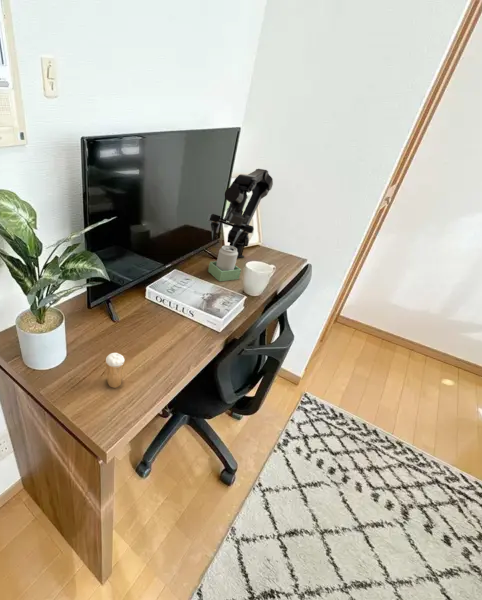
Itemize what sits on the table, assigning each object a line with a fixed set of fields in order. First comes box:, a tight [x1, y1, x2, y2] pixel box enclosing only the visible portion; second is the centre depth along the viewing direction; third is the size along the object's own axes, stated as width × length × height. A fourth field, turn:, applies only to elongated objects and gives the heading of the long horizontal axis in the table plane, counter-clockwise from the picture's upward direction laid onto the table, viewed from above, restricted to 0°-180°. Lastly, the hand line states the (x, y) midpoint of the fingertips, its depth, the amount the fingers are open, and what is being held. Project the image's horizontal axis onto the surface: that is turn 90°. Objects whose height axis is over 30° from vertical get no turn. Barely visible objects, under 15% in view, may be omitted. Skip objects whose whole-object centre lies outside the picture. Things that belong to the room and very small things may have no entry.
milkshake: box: [105, 352, 126, 389], centre depth 79 cm, size 4×5×10 cm
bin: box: [207, 260, 242, 282], centre depth 135 cm, size 9×9×4 cm
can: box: [216, 244, 238, 271], centre depth 133 cm, size 8×8×12 cm
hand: (222, 243), depth 134 cm, fingers open, 9 cm apart
